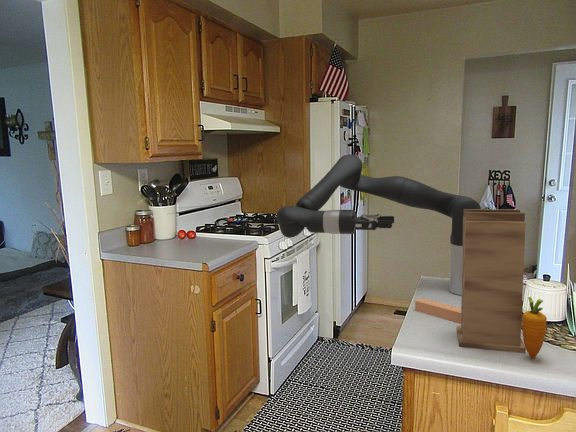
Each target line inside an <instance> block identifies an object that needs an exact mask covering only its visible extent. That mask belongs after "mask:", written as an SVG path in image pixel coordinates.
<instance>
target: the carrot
mask: <svg viewBox="0 0 576 432" xmlns="http://www.w3.org/2000/svg"><path fill="white" fill-rule="evenodd" d="M527 300H528V301H529V307H530V310H526V311H525V312H524V313H523V314H522V319H521V334H522V337H523V338H522V339H523V344H524V346H525V348H526V352H527V355H528V356H529V357H530V358H531V359H535V358H536V357H537V356H538V354H539V353H540V352H541V349H542V347H543V344H544V341H545V337H546V331H547V316H546V315H545V314H544V313H542V312H541V311H542V310H543V307H539V306H540V305H541V304H542V303H544V300H542V299H541V298H538V299H537V300H536V302H535V304H534V300H533V298H532V297H531V296H528V299H527Z"/></svg>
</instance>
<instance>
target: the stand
mask: <svg viewBox="0 0 576 432" xmlns="http://www.w3.org/2000/svg"><path fill="white" fill-rule="evenodd" d="M525 243H526V213H525V212H521V209H516V208H515V209H511V208H510V209H507V208H505V209H504V208H503V209H502V208H501V209H493V208H492V209H491V208H490V209H487V208H485V209H483V208H481V209H464V216H463V251H462V295H461V303H460V305H461V306H460V308H461V323H460V325H456V334H457V340H458V341H457V342H458V347H460V348H468V349H479V350H489V351H500V352H509V353H519V354H520V353H521V354H526V352H527V350H526V347H525V344H524V341H523V340H522V316H523V314H522V313H523V295H524V294H523V290H524V267H525V265H524V264H525Z"/></svg>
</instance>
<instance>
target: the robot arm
mask: <svg viewBox="0 0 576 432" xmlns="http://www.w3.org/2000/svg"><path fill="white" fill-rule="evenodd" d="M362 171H363V162H362V159H360V158H359V156H357V155H355V154H343V156H341V157H340V158H338V160H337V161H336V162H335V164H334V165H333V166H332V167H331V168H330V170H329V171H328V172H327V173H326V174H325V175H324V176H323V177H322V178H321V179H320V180H319V181H318V182H317V183H316V184H315V185H314V186H313V187H312V188H311V189H310V190H308V191H307V192H306V193H305V194H303V195H302V196H301V197H300V198H299V199H298V200H297V201H296V204H295V205H285V206H282V207H280V208H279V209H278V210H277V213H276V220H277V223H278V226H279V229H280V232H281V234H282V236H284V237H285V238H288V239H289V238H291V239H292V238H295V237H297V236H299V235H300V234H301V233H302V232H303V231H304V230H305V228H306V230H307V231H308V233H314V234H331V235H335V234H336V235H354V234H355V233H356V231H358V230H359V231H360V230H361V231H376V230H378V229H392V228H393V224H395V216H393V215H381V214H379V213H378V214H363V213H362V214H361V215H360V216H356V215H357V214H356V210H354V209H329V210H321V209H322V208H323V207H324V206H326V203H327V202H329V200H330V199H331V197H332V196H333V194H334V193H335V192H336V190H337V189H338V188H339V187H341V188H343V189H346V190H347V189H348V190H350V191H356V192H360V193H363V194H364V193H366V194H367V195H368V194H370V195H373V196H376V197H379V198H381V199H382V198H383V199H386V200H389V201H391V202H395V203H398V204H401V205H404V206H407V207H410V208H415V209H424V210H429V211H434V212H437V213H440V214H442V215H444V216H447V217H449V218H451V233H450V239H449V240H450V241H449V242H450V244H449V245H450V246H449V248H450V249H449V292H451V293H452V294H454V295H458V296H462V251H463V216H464V209H482V207H481V204H480V203H479V202H478V201H476V200H475V199H473V198H472V197H469V196H465V195H460V194H459V195H458V194H454V193H450V192H444V191H441V190H439V189H436V188H434V187H432V186H430V185H427V184H425V183H422V182H420V181H418V180H415V179H411V178H408V177H406V176H402V175H392V176H384V177H371V176H369V175H366V174H365V175H364V174H362Z"/></svg>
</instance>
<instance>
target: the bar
mask: <svg viewBox="0 0 576 432" xmlns="http://www.w3.org/2000/svg"><path fill="white" fill-rule="evenodd" d="M414 311H416V312H419V313H422V314H425V315H430V316H433V317H436V318H439V319H442V320H448V321H451V322H453V323H458V324H461V307H457V306H453V305H449V304H446V303H442V302H440V301H439V302H438V301H434V300H430V299H428V298H427V299H426V298H423V297H421V298H418V299H415V301H414Z"/></svg>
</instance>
